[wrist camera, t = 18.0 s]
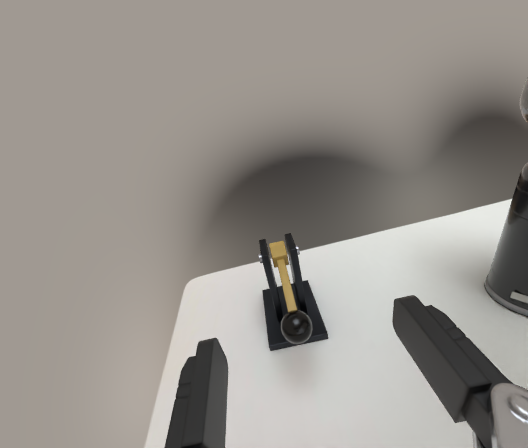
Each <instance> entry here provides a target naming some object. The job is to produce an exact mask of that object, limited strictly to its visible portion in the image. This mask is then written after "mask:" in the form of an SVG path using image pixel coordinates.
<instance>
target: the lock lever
mask: <svg viewBox="0 0 528 448" xmlns="http://www.w3.org/2000/svg"><path fill="white" fill-rule="evenodd" d="M269 246H270V250H271V255H272V260H273V264H274V267H278V269H279V273H280V278H281V282H282V287H283V291H284V295H285V300H286V304H287V309H288V313H286V314H285V315H284V317H283V319H282V321H281V331H282V334H283V336H284V337H285V338H286V339H287V340H288V341H289V342H291V343H294V344H301V343H304V342H305V341H307V340H308V339H309V337H310V336H311V333H312V322H311V320H310V318H309V317H308V315H307V314H305V313H304V312H302V311H300V310H297V307H296V303H295V299H294V295H293V292H292V288H291V284H290V280H289V276H288V272H287V268H286V265H289V262H288V256H287V252H286V248H285V245H284V241H280V242H275V243H271V244H269Z"/></svg>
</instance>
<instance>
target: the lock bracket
mask: <svg viewBox="0 0 528 448" xmlns="http://www.w3.org/2000/svg"><path fill="white" fill-rule="evenodd" d="M285 240H286V245H287V250H288V256H289V261H290V266H291V271H292V276H293V282H294V283H293V284H291V288H292V292H293V295H294V299H295V303H296V307H297V310H300V311H302V312H304V313H305V314H307V315H308V317H309V318H310V320H311V322H312V333H311V336H310V337H309V339H308V340H307V341H305V342H304V343H301V344H305V343H309V342H314V341H319V340H323V339H328V334H327V331H326V328H325V326H324V323H323V320H322V317H321V315H320V312H319V309H318V307H317V304H316V301H315V299H314V296H313V293H312V291H311V288H310V285H309V283H308V280H307V281H302V277H301V271H300V265H299V259H298V255H299V254H300V252H299V248H298V246H297V245H296V246H295V243H294V240H293V238H292V235H291V233H289V234H285ZM259 243H260V251H261V253H260V254H259V260H260V263H263V265H264V269H265V273H266V277H267V281H268V284H269V288H270V289H266V290H263V299H264V307H265V316H266V324H267V333H268V341H269V348H270V351H272V350H277V349H281V348H286V347H291V346H295V345H300V344H294V343H291V342H289V341H288V340H287V339H286V338H285V337H284V336H283V334H282V331H281V321H282V319H283V317H284V315H285V314H286V313H288V309H287V304H286V300H285V295H284V291H283V287H282V286H279V287H277V285H276V281H275V277H274V273H273V269H272V264H271V260H270V256H269V252H268V248H267V244H266V240H265V239H263V240H259Z"/></svg>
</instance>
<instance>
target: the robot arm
mask: <svg viewBox="0 0 528 448" xmlns="http://www.w3.org/2000/svg"><path fill="white" fill-rule="evenodd" d="M520 109H521V113H522V116H523V117H524V119H525V120H526V121H527V122H528V78H527V80H526V82H525V84H524V87H523V90H522V93H521V97H520ZM485 288H486V290H487V292H488V293H489V294H490V296H491V297H492V298H493V299H495V300H496V301H497V302H498V303H500V304H501V305H503V306H505V307H507V308H508V309H510V310H513V311H515V312H517V313H520V314H523V315H525V316H528V163H527V164H526V165H525V166H524V167H523V169H522V171H521V173H520V176H519V179H518V183H517V186H516V189H515V192H514V195H513V199H512V202H511V205H510V209H509V212H508V215H507V218H506V221H505V224H504V228H503V231H502V234H501V237H500V240H499V244H498V247H497V250H496V253H495V256H494V259H493V263H492V265H491V269H490V272H489V274H488V276H487V278H486V282H485ZM393 326H394V329H395V332H396V334H397V336H398V337H399V339H400V340H401V342H402V343H403V345H404V346H405V348H406V349H407V351H408V352H409V354H410V355H411V357H412V358H413V360H414V361H415V363H416V364H417V366H418V367H419V369H420V370H421V372H422V373H423V375H424V376H425V378H426V379H427V381H428V383H429V384H430V386H431V387H432V389H433V390H434V392H435V393H436V395H437V396H438V398H439V399H440V401H441V402H442V404H443V405H444V407H445V408H446V410H447V411H448V413H449V414H450V416H451V417H452V419H453V420H454V422H455V423H457V422H462V421H467V422H468V424H469V425H470V427H471V428H472V430H473V447H474V448H528V390H527V389H525V388H523V387H520V386H518V385H515V384H513V383H512V382H511V381H509V380H508V379H507V378H506V377H505V376H504V375H503V374H502V373H501V372H500V371H499V370H498V369H497V368H496V367H495V366H494V365H493V363H492V362H491V361H490V360H489V359H488V358H487V357H486V356H485V355H484V354H483V353H482V352H481V351H480V350H479V349H478V348H477V347H476V346H475V345H474V344H473V342H472V341H471V340H470V339H469V338H467V337H466V336H465V334H464V333H463V332H462V331H461V330H460V329H459V328H457V327H456V325H455V324H454V323H453V321H452V320H451V319H450V318H449V317H448V316H447V315H446V314H445V313H443V312H441V311H440V310H438V309H437V308H435V307H433V306H432V305H429V306H424V305H423V304H422V303H421V301H420V300H419V299H418V298H417V297H416V296H414V295H411V296H406V297H402V298H397V299H395V300H394V309H393ZM178 385H179V387H178V388H177V393H176V400H175V402H174V407H173V411H172V416H171V421H170V425H169V430H168V435H167V439H166V444H165V448H225V434H226V410H227V387H228V363H227V359H226V356H225V354H224V352H223V350H222V348H221V345H220V343H219V341H218V339H217V338H212V339H208V340H203V341H200V342H199V343H198V346H197V352H196V356H193V357H189V358H188V359H187V361H186V363H185V365H184V367H183V368H182V370H181V374H180V379H179V384H178Z"/></svg>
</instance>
